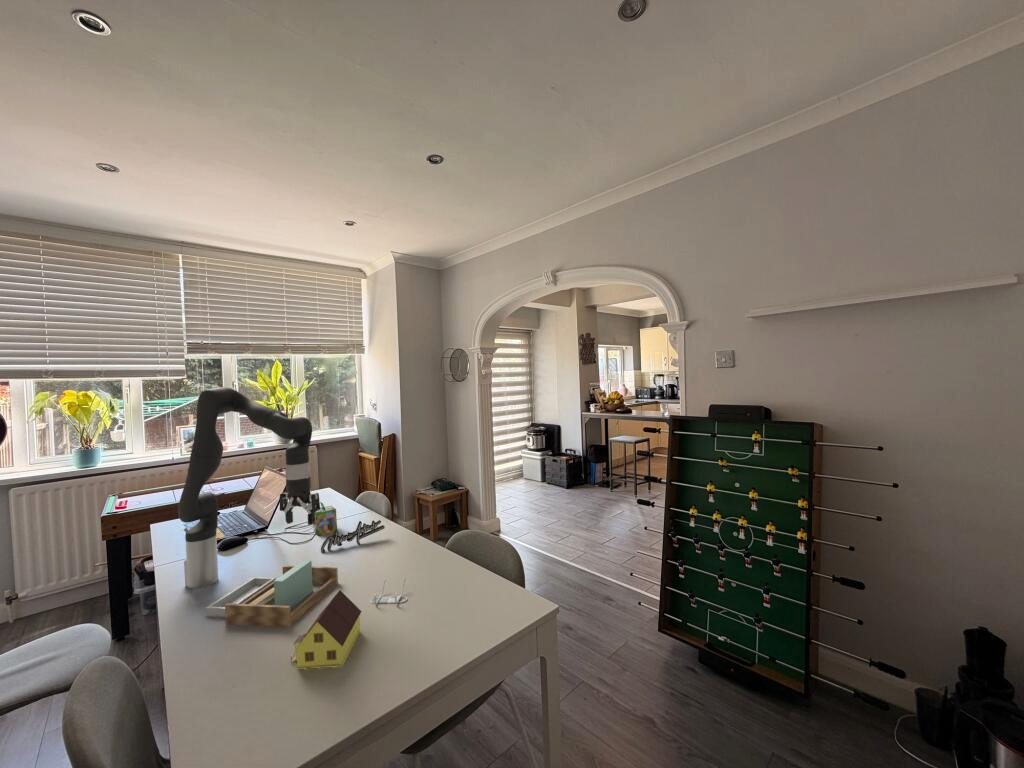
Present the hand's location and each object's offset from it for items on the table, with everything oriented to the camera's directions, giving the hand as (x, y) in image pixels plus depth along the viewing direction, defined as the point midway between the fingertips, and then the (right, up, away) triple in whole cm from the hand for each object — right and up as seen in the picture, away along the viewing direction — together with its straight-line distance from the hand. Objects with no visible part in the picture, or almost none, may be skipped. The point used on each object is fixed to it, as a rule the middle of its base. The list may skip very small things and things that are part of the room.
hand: (300, 523), depth 144 cm
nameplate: (+2, -25, +45) cm, 51 cm away
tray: (-19, -26, -1) cm, 32 cm away
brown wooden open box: (-3, -25, -3) cm, 26 cm away
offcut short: (-9, -24, -5) cm, 26 cm away
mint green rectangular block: (0, -25, -3) cm, 26 cm away
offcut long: (-9, -26, -3) cm, 28 cm away
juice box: (-19, -25, +63) cm, 70 cm away
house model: (+22, -26, -29) cm, 44 cm away
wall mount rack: (+32, -25, -3) cm, 40 cm away
